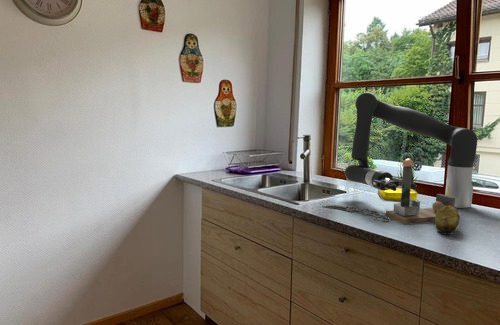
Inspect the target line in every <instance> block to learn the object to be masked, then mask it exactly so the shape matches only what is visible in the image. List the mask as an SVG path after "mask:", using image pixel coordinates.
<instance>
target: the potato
mask: <svg viewBox="0 0 500 325" xmlns="http://www.w3.org/2000/svg"><path fill="white" fill-rule="evenodd" d="M460 219H461V216H460V214H459V210H458V208H456V207H453V206H450V205H444V206H441V207H440V208H439V209H438V210H437V212H436V216H435V222H434V227H435V228H436V230H437V231H438V232H439V233H441V234H444V235H451V234H454V233H455V232H456V230H457V228H458V227H459V224H460Z"/></svg>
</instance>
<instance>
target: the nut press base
mask: <svg viewBox="0 0 500 325" xmlns="http://www.w3.org/2000/svg"><path fill="white" fill-rule="evenodd" d="M435 197H436V198H435V202H437V201H438V202H441V203H443V205H450V206H453V207H454V206H455V198H453V197H450V196H446V195H445V194H442V193H437V194H436V196H435ZM384 215H386V216H388V219H390V220H394V221H395V222H398V223H400V224H403V225H414V224H415V225H416V224H429V223H430V224H431V223H435V216H436V211H434V210H433V208H432V207H426V208H424V207H423V208H420V210H419V215H409V216H403V215H401V214H398V213H396V212H393V210H385V214H384Z"/></svg>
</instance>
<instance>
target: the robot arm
mask: <svg viewBox="0 0 500 325" xmlns="http://www.w3.org/2000/svg"><path fill="white" fill-rule="evenodd" d="M354 105H355V109H356V124H355V129H354V130H355V131H354V135H353V141H352V145H351V146H352V147H351V155H350V156H351V159H353V160H355V161H357V162H358V165H356V164H350V165H348V166H347V167H346V168H345V170H344V176H345V177H346V179H347V180H349V181H351V182H355V183H356V182H357V183H361V184H364V185H367V186H369V187H372V188H374V189H377V190H378V189H380V190H383V191H386V190H389V189H390V190H393V191H396V188H401V189H402V178H397V177H393V176H394V175H392V174H391V173H390V172H388V171H384V170H379V169H374V168H370V166H369V157H368V156H369V148H370V138H371V137H370V136H371V128H372V122H373V118H376V119H380V120H382V121H385V122H387V123H389V124H391V125H393V126H395V127H398V128H400V129H402V130H405V131H408V132H410V133H413V134H417V135H418V136H424V137H428V138H432V139H435V140H438V141H440V142H442V143H444V144H446V145H449V146H450V155H449V158H448V160H447V170H446V183H445V185H446V186H445V193H444V195H446V196H450V197H453V198H455V206H454V207H455V208H456V209H458V208H459V209H466V208H472V204H473V203H472V201H473V193H474V185H473V184H472V179H473V171H474V168H473V167H474V162H475V161H476V155H477V147H478V135H477V134H476V132H475V131H474V130H472V129H470V128H465V127H458V126H456V125H455V126H454V125H450V124H448V123H444V122H441V121H439V120H437V119H435V118H434V117H432V116H430V115H428V114H426V113H424V112H421V111H418V110H415V109H413V108H410V107H409V108H408V107H405V106H398V105H394V104H393V105H392V104H389V103H387V102H384V101H382V100H379V99H377V97H376V95H375V94H374V93H372V92H367V91H366V92H363V93H360V94H359V95H358V96H357V97H356V99H355V104H354ZM400 186H401V187H400ZM411 189H413V190H414V191H416V190H417V184H416V183H414V181H413V180H411Z"/></svg>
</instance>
